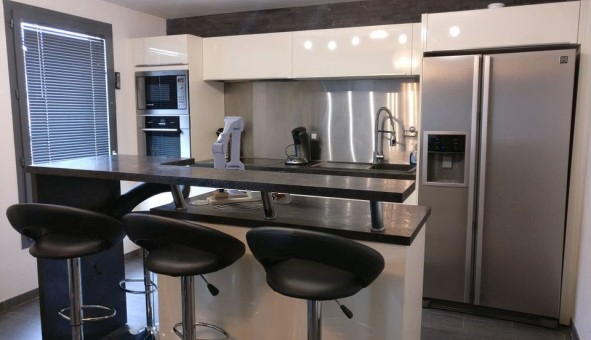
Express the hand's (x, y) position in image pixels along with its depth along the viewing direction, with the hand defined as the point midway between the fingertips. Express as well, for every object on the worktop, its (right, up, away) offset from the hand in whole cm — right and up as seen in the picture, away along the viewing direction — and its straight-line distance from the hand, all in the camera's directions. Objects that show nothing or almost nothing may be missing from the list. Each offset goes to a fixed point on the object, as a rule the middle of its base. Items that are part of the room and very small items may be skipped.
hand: (220, 191), depth 237 cm
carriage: (0, -4, +1) cm, 4 cm away
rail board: (+8, -5, +5) cm, 11 cm away
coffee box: (+32, -6, +1) cm, 33 cm away
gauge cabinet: (+18, -3, +9) cm, 20 cm away
